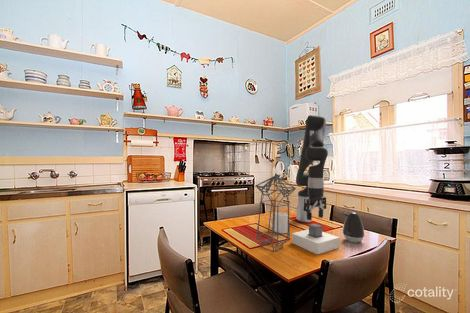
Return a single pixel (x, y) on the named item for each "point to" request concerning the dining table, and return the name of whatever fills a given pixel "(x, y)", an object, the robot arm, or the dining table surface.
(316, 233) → the plug
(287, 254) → the dining table surface
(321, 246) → the socket block
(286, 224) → the mug
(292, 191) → the geometric lantern
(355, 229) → the dark grey rounded cone
